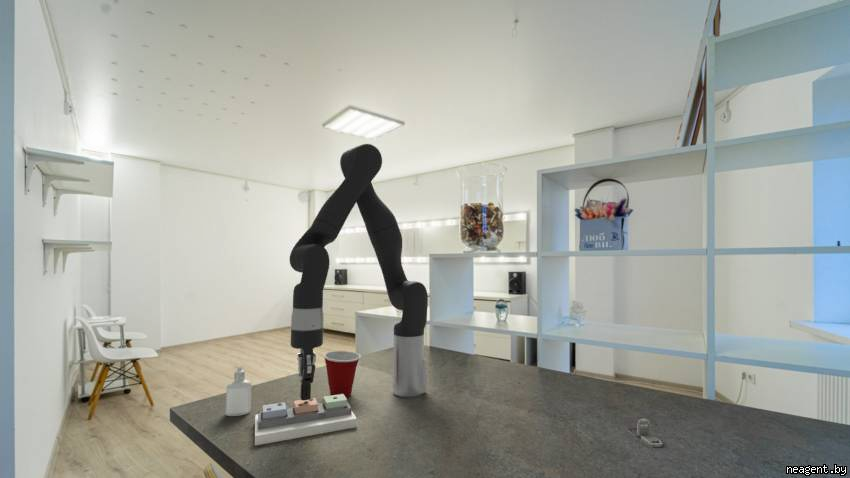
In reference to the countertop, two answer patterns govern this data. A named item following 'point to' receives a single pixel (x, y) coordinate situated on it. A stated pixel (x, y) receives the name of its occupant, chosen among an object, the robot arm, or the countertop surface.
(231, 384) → the eye dropper bottle
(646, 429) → the strap clip
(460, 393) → the countertop surface
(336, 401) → the key one
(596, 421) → the countertop surface
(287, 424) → the keypad
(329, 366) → the plastic cup
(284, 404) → the key two
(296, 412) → the key three
